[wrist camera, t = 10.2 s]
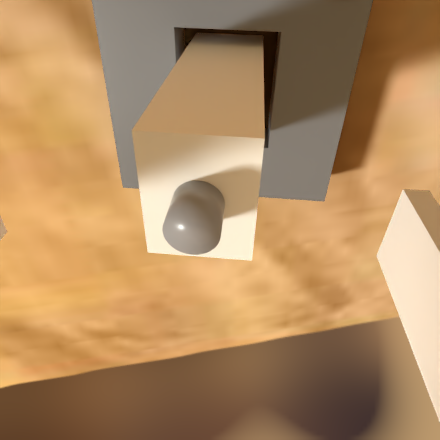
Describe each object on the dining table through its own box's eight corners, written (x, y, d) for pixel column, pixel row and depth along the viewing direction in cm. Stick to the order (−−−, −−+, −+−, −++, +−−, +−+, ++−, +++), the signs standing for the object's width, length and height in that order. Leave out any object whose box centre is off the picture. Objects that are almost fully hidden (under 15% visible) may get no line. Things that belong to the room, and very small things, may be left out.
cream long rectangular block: (197, 113, 25) (136, 283, 13) (196, 32, 22) (114, 155, 10) (256, 116, 25) (251, 293, 13) (263, 35, 22) (264, 165, 10)
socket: (134, 166, 28) (122, 189, 26) (102, -65, 20) (79, -65, 17) (318, 178, 27) (324, 203, 25) (370, -57, 19) (387, -56, 16)
